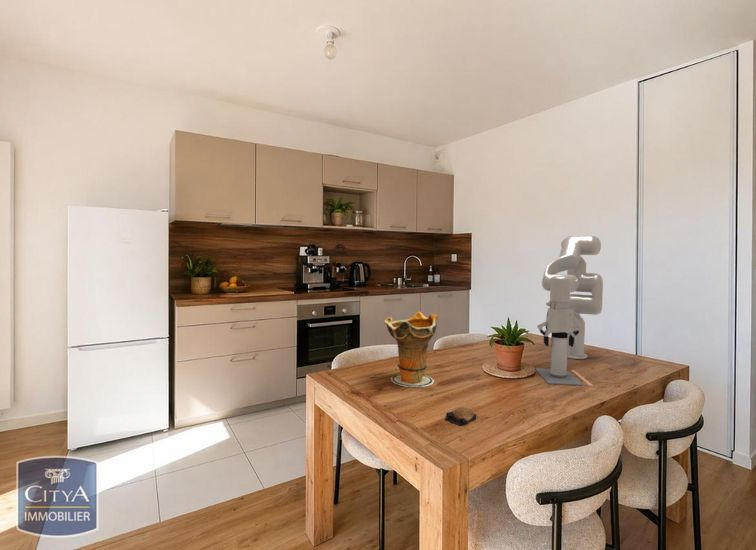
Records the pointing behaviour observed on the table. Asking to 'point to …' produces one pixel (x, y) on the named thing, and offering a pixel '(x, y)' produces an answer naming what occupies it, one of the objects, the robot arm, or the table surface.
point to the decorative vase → (412, 348)
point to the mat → (558, 381)
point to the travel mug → (559, 355)
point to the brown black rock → (461, 416)
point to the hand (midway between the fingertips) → (558, 345)
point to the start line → (582, 378)
